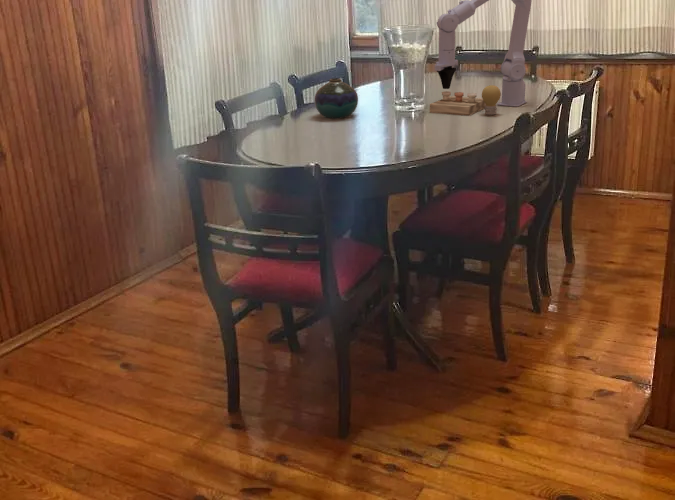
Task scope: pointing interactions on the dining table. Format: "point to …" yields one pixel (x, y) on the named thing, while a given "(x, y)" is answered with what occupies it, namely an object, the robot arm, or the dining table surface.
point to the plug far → (446, 95)
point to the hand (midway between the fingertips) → (446, 88)
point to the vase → (336, 99)
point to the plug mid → (458, 96)
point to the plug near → (471, 97)
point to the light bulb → (491, 98)
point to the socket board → (457, 106)
